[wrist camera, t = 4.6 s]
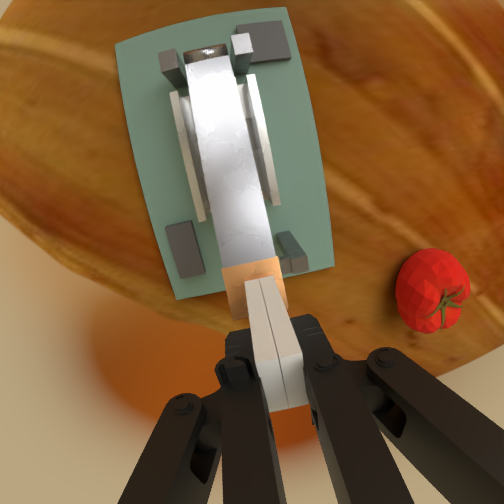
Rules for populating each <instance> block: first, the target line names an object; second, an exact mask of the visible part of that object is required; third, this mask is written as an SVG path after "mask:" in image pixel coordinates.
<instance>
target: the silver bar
mask: <svg viewBox="0 0 504 504" xmlns="http://www.w3.org/2000/svg"><path fill="white" fill-rule="evenodd" d="M252 55H253V48H252V44H251V40H250V36H249V33H244V34H237V35H231V49H230V61H231V66H232V70H233V75H234V76H236V75H242V74H248V70H249V67H250V63H251V59H252ZM158 58H159V64H160V69H161V73H162V74H163V75H164V76H165V77H166V78H167V79H168V81H169V82H170V83H171V84H172V85H173V86H174V87H175V88H176V89H178V88H182V87H186V86H188V80H187V74H186V68H185V66H184V64H183V62H182V60H181V58H180V57H179V55H178V53H177V51H176V49H175V48H173V49H169V50H166V51H162V52H159V53H158ZM234 79H235V77H234ZM235 82H236V79H235ZM236 86H237V90H238V94H239V98H240V102H241V106H242V110H243V114H244V119H245V123H246V127H247V131H248V135H249V139H250V143H251V148H252V152H253V156H254V160H255V165H256V169H257V173H258V177H259V182H260V186H261V191H262V195H263V199H264V200H269V202H270V203H271V204H272V205H273V206H277V205H281V202H280V196H279V190H278V185H277V180H276V174H275V169H274V164H273V159H272V153H271V148H270V143H269V138H268V133H267V129H266V124H265V119H264V114H263V110H262V105H261V100H260V96H259V91H258V87H257V82H256V78H255V74H251V75H246V79H245V83H244V84H240V85H237V83H236ZM188 89H189V87H188ZM169 94H170V99H171V104H172V109H173V113H174V118H175V123H176V128H177V132H178V137H179V141H180V146H181V150H182V155H183V159H184V164H185V168H186V172H187V176H188V181H189V185H190V189H191V193H192V197H193V201H194V205H195V209H196V213H197V217H198V221H199V222H203V221H207V218H208V215H209V212H211V208H210V203H209V198H208V193H207V188H206V183H205V178H204V172H203V167H202V162H201V156H200V151H199V145H198V140H197V134H196V129H195V123H194V117H193V111H192V105H191V99H190V96H186V97H183V96H182V95H181V94H180V93H179V92H178V91H174V92H170V93H169ZM189 94H190V93H189ZM276 234H277V239H278V245H279V247H280V249H281V251H282V253H283V255H284V256H280V257H279V260H280V266H281V272H282V274H283V275H285V274H289V273H293V275H294V274H298V273H302V272H307V271H309V265H308V257H307V255H306V253H305V252H304V250H303V249H302V248H301V246H300V245H299V243H298V242H297V241H296V239H295V238H294V236H293V235H292V234H291V232H290V231H284V232H279V233H276Z"/></svg>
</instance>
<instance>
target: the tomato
mask: <svg viewBox="0 0 504 504" xmlns="http://www.w3.org/2000/svg"><path fill="white" fill-rule="evenodd" d="M469 294H470V282H469V277H468V275H467V273H466V271H465V270H464V268H463V267H462V266H461V265H460V263H459V262H458V261H457V260H456V258H455V257H453V256H452V255H451V254H450V253H448V252H446V251H443V250H439V249H435V248H428V249H424V250H420V251H418V252H416V253H415V254H413V255H412V256H411V257H410V258H409V259H408V260H407V261H406V262H405V263H404V264H403V266H402V268H401V270H400V272H399V274H398V278H397V282H396V292H395V296H396V299H397V302H398V305H397V308H398V311H399V314H400V315H401V317H402V319H403V320H404V322H405V323H406V325H408V326H409V327H410V328H411V329H413V330H416V331H418V332H422V333H425V334H428V333H434V332H435V331H436V330H437V329H438V328H440V330H441V328H443V329H445V328H449V327H450V326H452V325H453V324H455V323H456V322H457V320H458V318H459V316H460V314H461V308H462V306H461V302H462V301H463V300H465V299H467V298H468V296H469Z"/></svg>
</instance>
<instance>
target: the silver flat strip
mask: <svg viewBox="0 0 504 504" xmlns="http://www.w3.org/2000/svg"><path fill="white" fill-rule="evenodd" d="M183 58H184V62H185V67H186V74H187V80H188V87H189V93H190V99H191V105H192V111H193V117H194V123H195V129H196V134H197V140H198V145H199V151H200V156H201V162H202V167H203V172H204V178H205V183H206V188H207V193H208V198H209V203H210V208H211V213H212V218H213V223H214V228H215V233H216V238H217V242H218V247H219V252H220V256H221V261H222V266H223V268H221V270H222V275H223V279H224V284H225V288H226V293H227V297H228V301H229V306H230V310H231V314H232V319H233V321H234V320H239V319H244V318H248V317H249V313H248V305H247V298H246V290H245V283H244V281H249V280H254V279H258V278H263V277H267V276H272V275H273V276H274V279H275V281H276V284H277V287H278V289H279V292H280V295H281V297H282V300H283V303H284V305H285V308H286V309H289V307H288V302H287V297H286V292H285V288H284V283H283V278H282V273H281V268H280V264H279V259H278V256H276V254H275V249H274V245H273V240H272V236H271V231H270V226H269V222H268V217H267V213H266V208H265V204H264V199H263V195H262V191H261V186H260V182H259V177H258V173H257V169H256V165H255V160H254V156H253V152H252V148H251V143H250V139H249V135H248V131H247V127H246V123H245V119H244V114H243V110H242V106H241V102H240V98H239V94H238V90H237V86H236V82H235V79H234V75H233V71H232V67H231V63H230V59H229V55H228V50H227V46H226V43H223V44H218V45H213V46H208V47H203V48H199V49H194V50H190V51H186V52H183ZM259 282H260V281H259ZM260 286H261V285H260Z"/></svg>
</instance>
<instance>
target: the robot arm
mask: <svg viewBox="0 0 504 504" xmlns="http://www.w3.org/2000/svg"><path fill="white" fill-rule="evenodd" d="M259 281H260V282H259ZM244 283H245V290H246V298H247V305H248V313H249V321H250V328H248V329H243V330H238V331H233V332H230V333H229V334H228V336H227V338H226V339H225V348H226V349H225V358H223V359H221V360H220V361H219V362H218V363H217V364H216V367H215V373H216V375H217V378H218V380H219V383H220V385H221V388H220V389H219V390H217V391H216V392H214V393H212V394H210V395H208V396H205V397H203V398H199V397H198V396H197V395H195V394H191V393H184V394H180V395H177V396H175V397H173V398H172V399H170V400H169V402H168V403H167V404H166V406H165V408H164V410H163V412H162V414H161V416H160V418H159V420H158V422H157V424H156V426H155V428H154V430H153V432H152V434H151V436H150V438H149V440H148V442H147V444H146V446H145V448H144V450H143V452H142V454H141V456H140V458H139V461H138V463H137V464H136V466H135V469H134V471H133V473H132V475H131V477H130V479H129V481H128V483H127V485H126V487H125V489H124V491H123V493H122V495H121V497H120V499H119V501H118V504H207V502H208V498H209V495H210V492H211V488H212V485H213V481H214V478H215V474H216V471H217V468H218V464H219V461H220V457H221V454H222V481H223V504H287V503H286V497H285V492H284V487H283V482H282V476H281V471H280V465H279V460H278V454H277V449H276V444H275V438H274V432H273V427H272V422H271V419H270V415H269V412H274V411H279V410H283V409H288V405H289V408H293V407H297V406H301V405H305V404H308V403H310V406H311V416H312V424H313V425H315V428H316V431H317V434H318V438H319V441H320V444H321V447H322V451H323V454H324V457H325V461H326V464H327V467H328V471H329V474H330V477H331V481H332V484H333V487H334V491H335V494H336V498H337V501H338V504H414V501H413V499H412V498H411V495H410V493H409V490H408V488H407V486H406V484H405V482H404V480H403V478H402V476H401V473H400V471H399V469H398V467H397V465H396V463H395V461H394V459H393V457H392V455H391V452H390V450H389V448H388V447H387V444H386V442H385V440H384V438H383V436H382V434H381V432H382V433H384V435H385V436H386V437H387V438H388V439H389V440H390V441H391V442H392V443H393V444H394V446H395V447H396V448H397V449H398V450H399V451H400V452H401V453H402V454H403V455H404V456H405V457H406V458H407V459H408V460H409V461H410V462H411V463H412V464H413V465H414V467H415V468H416V469H417V470H418V471H419V472H420V473H421V474H422V475H423V476H424V477H425V478H426V479H427V480H428V481H429V482H430V483H431V484H432V485H433V486H434V487H435V488H436V489H437V490H438V491H439V492H440V493H441V494H442V495H443V496H444V497H445V498H446V499H447V500H448V501H449V502H450V503H451V504H504V430H503V429H502V428H501V427H499V426H498V425H497V424H495V423H494V422H493V421H491V420H490V419H489V418H488V417H486V416H485V415H484V414H482V413H481V412H480V411H479V410H477V409H476V408H475V407H473V406H472V405H471V404H469V403H468V402H467V401H465V400H464V399H463V398H461V397H460V396H459V395H458V394H456V393H455V392H454V391H452V390H451V389H450V388H448V387H447V386H446V385H444V384H443V383H442V382H440V381H439V380H438V379H436V378H435V377H434V376H432V375H431V374H430V373H428V372H427V371H426V370H424V369H423V368H422V367H420V366H419V365H418V364H416V363H415V362H414V361H412V360H411V359H410V358H408V357H407V356H406V355H404V354H403V353H402V352H400V351H399V350H397V349H395V348H390V347H384V348H379V349H376V350H374V351H373V352H371V353H370V354H369V356H368V358H367V360H361V361H349V360H344V359H343V358H342V357H341V356H340V355H338V354H336V353H334V351H333V349H332V347H331V345H330V343H329V341H328V339H327V337H326V336H325V334H324V332H323V330H322V328H321V327H320V324H319V322H318V320H317V319H316V318H315V317H313V316H312V315H310V314H306V315H302V316H298V317H294V318H289V316H288V313H287V311H286V308H285V305H284V303H283V300H282V297H281V295H280V292H279V289H278V287H277V284H276V281H275V279H274V276H273V275H272V276H267V277H263V278H258V279H254V280H249V281H244ZM260 285H261V286H260ZM286 397H287V398H286ZM308 400H309V402H308ZM287 401H288V403H287ZM379 429H380V430H379ZM380 431H381V432H380Z"/></svg>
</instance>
